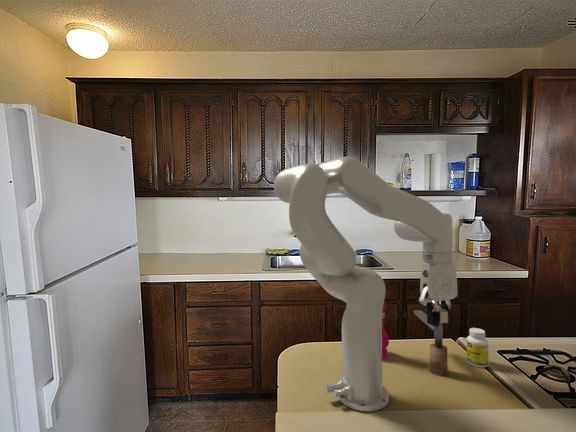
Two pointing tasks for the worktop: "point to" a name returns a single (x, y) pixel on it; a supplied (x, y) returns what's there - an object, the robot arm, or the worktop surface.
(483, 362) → the supplement bottle
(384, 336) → the pepper mill
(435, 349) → the post
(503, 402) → the worktop surface
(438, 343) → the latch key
